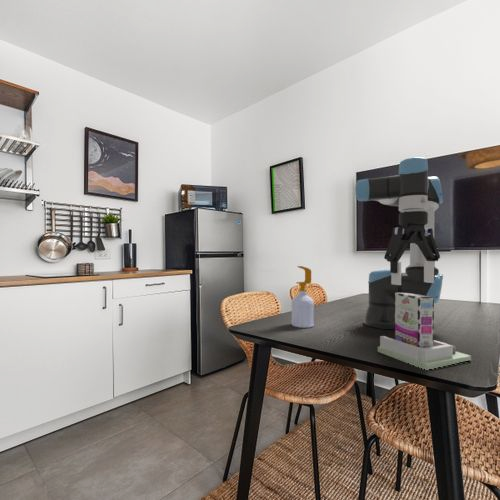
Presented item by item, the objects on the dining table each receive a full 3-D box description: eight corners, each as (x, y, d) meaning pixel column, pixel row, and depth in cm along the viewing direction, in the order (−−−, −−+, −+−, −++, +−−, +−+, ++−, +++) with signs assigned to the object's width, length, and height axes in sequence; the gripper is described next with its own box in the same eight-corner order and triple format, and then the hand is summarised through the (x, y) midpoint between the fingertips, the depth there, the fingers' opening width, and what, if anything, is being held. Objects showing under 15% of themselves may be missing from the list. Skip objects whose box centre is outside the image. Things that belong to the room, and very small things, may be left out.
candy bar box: (435, 356, 84) (435, 297, 84) (418, 357, 83) (418, 297, 83) (408, 344, 95) (408, 291, 95) (393, 344, 94) (393, 292, 94)
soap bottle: (287, 324, 127) (287, 265, 127) (305, 322, 131) (305, 265, 131) (299, 329, 119) (299, 266, 119) (318, 326, 122) (318, 266, 123)
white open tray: (419, 345, 99) (419, 331, 99) (471, 361, 84) (471, 345, 84) (377, 351, 92) (377, 336, 92) (426, 370, 77) (426, 352, 77)
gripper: (392, 207, 81) (392, 287, 81) (453, 212, 90) (453, 282, 91) (371, 211, 88) (371, 284, 88) (430, 214, 97) (430, 280, 97)
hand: (413, 283), depth 89 cm, fingers open, 13 cm apart
